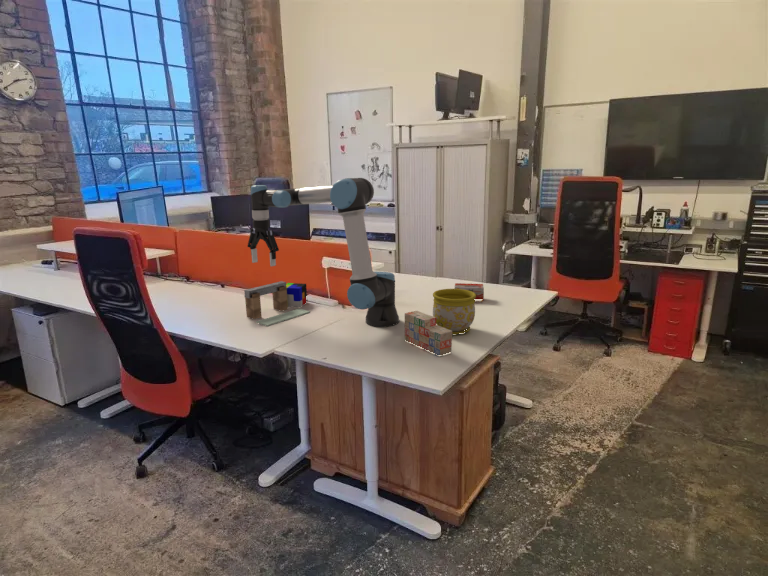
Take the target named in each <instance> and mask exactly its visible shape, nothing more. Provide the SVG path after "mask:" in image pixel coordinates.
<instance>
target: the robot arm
mask: <svg viewBox="0 0 768 576" xmlns="http://www.w3.org/2000/svg"><path fill="white" fill-rule="evenodd" d="M374 193H375V188H374V186H373V184H372V182H371V181H370V180H368V179H366V178H365V177H354V178H353V177H348V178H347V177H346V178H342V179H338V180H337V181H335V182H334V183H333V184H330V185H322V186H321V185H320V186H311V187H296V188H289V189H274V190H273V189H268V186H267V185H265V184H256V185H255V184H254V185H251V186H250V200H251V201H250V203H251V218H252V219H253V220H252V228H250V234H249V237H248V242H247V248H249V249H250V255H251V263H252V264H254V263H258V261H259V259H258V248H257V246H258V243H259V241H260V240H263V242H264V243H265V244H266V246H267V248H268V250H269V254H268V255H269V265H270V266H269V267H275V266H277V261H276V260H277V259H276V258H277V254H276V252H279V251H280V249H279V246H278V243H277V240H276V238H275V235H274V230H272V229H271V230H269V228H270V227H271V226H270V225H271V224H270V214H269V212H270V210H269V208H270V207H273V208H278V209H279V208H280V209H281V208H288V207H289V206H299V205H300V206H301V205H311V204H314V205H315V204H329V203H331V204H332V205H333V206H334V207H335V208H337V214H338V215H339V216H341V218H342V220H343V227H344V233H345V237H346V244H347V250H348V255H349V262H350V267H351V268H350V269H351V272H352V273H351V274H352V275H351V276H350V277H349V283H350V286H349V287H348V288H347V293H346V294H347V295H346V297H347V299H348V302H349V304H351V306H353V307H354V308H356V309H357V310H367V312H366V316H365V323H366V324H367V325H368V326H371V325H372V326H371V327H378V326H386V327H390V326H389V325H392V326H394V325H393V324H395V325H397V324H398V323H400V316H399V314H398V310H397V307H396V278H395V277H396V276H395V274H394V273H392V272H388V271H377V270H376V271H374V270H373V266H372V260H371V259H372V258H371V253H370V247H369V241H368V235H367V228H366V223H365V216H364V214H365V212H366V210H367V204H369V203H370V202H371V201H372V200H373V198H374ZM396 323H397V324H396Z"/></svg>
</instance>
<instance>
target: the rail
mask: <svg viewBox="0 0 768 576" xmlns="http://www.w3.org/2000/svg"><path fill="white" fill-rule="evenodd" d="M286 284H287V282H286V281H283V280H280V281H277V282H273V283H269V284H268V283H267V284H265V285H260V286H255V287H252V288H248V289H244V292H243V293H244V299H245V298H249V299H250V298H252V294H256V293H260V297H261V296H266V295H269V294H273V292H277V291H279V288H280V287H284V286H286Z"/></svg>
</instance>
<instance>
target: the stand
mask: <svg viewBox="0 0 768 576" xmlns="http://www.w3.org/2000/svg"><path fill="white" fill-rule="evenodd" d="M244 299H245V301H244V302H245V310H246V314H245V315H246V318H249V317H250V318H249V319H252V318H253V320H257V319H260V318H262V304H261V296H260V293H256V294H252V298H250V299H249V298H245V297H244ZM272 305H273V310H275V309H276V310H275V311H279V310H280V312H284V311H286V310H288V309H289V307H288V305H287V288H286V286H284V287H280V288H279V291H277V292H273V293H272ZM283 310H284V311H283Z"/></svg>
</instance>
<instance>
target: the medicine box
mask: <svg viewBox="0 0 768 576" xmlns="http://www.w3.org/2000/svg"><path fill="white" fill-rule="evenodd" d="M484 288H485V287H484V284H483V283H454V288H453V289H464V290H469V291H472V292H474V293H475V294H476V298H475V299H483V300H484V296H485V292H484Z"/></svg>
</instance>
